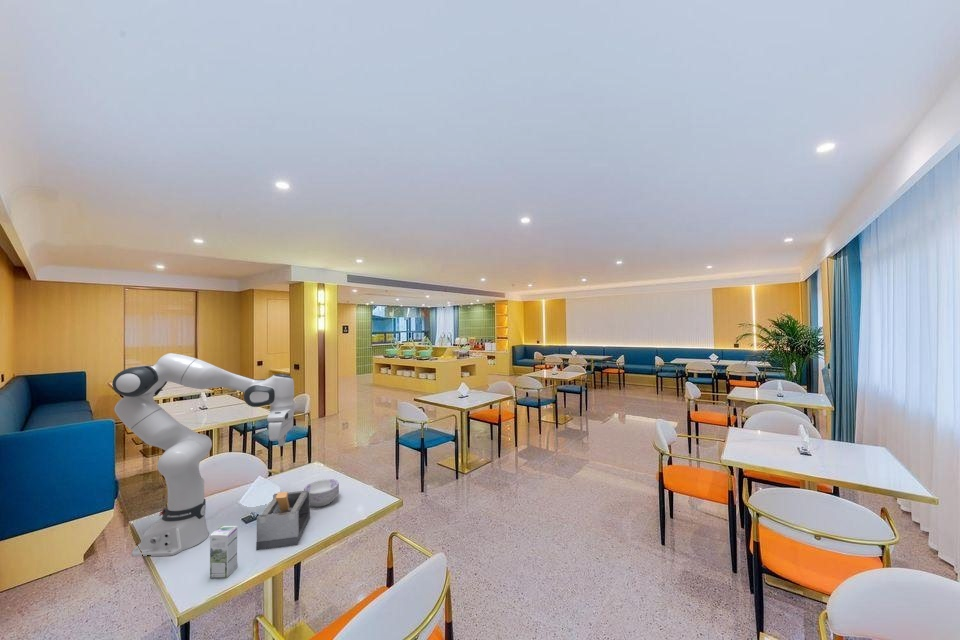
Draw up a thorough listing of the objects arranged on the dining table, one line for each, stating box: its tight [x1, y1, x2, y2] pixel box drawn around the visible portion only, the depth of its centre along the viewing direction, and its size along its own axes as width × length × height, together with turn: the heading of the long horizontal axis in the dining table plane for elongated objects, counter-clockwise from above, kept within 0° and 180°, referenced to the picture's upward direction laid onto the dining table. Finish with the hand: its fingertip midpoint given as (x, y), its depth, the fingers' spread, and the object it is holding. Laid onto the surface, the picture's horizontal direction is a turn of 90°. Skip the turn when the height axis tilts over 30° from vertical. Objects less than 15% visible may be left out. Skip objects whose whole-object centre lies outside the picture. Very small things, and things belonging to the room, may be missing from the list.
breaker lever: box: [276, 491, 292, 513], centre depth 142 cm, size 2×4×10 cm, turn 103°
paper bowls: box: [303, 478, 340, 508], centre depth 170 cm, size 15×15×8 cm
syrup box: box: [209, 525, 238, 579], centre depth 121 cm, size 6×6×14 cm
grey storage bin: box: [255, 490, 311, 551], centre depth 144 cm, size 20×14×12 cm
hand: (281, 445), depth 152 cm, fingers closed
